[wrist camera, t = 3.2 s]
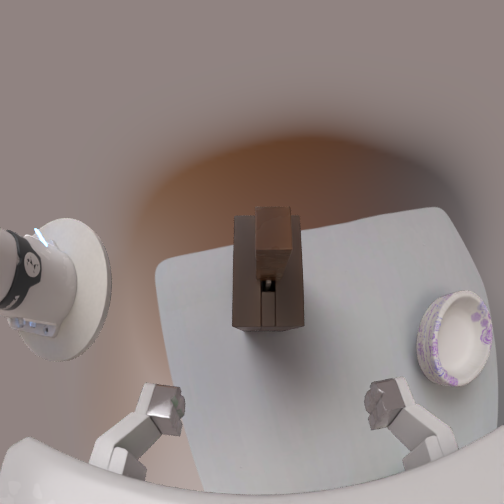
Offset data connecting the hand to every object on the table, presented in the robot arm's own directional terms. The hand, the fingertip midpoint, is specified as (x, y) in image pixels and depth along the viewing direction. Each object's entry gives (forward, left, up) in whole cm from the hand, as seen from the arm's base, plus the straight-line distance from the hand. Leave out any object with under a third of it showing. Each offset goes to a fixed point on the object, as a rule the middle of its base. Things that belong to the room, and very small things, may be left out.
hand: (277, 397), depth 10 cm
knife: (+2, +8, -19) cm, 21 cm away
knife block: (+2, +8, -29) cm, 31 cm away
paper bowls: (+30, -8, -30) cm, 43 cm away
